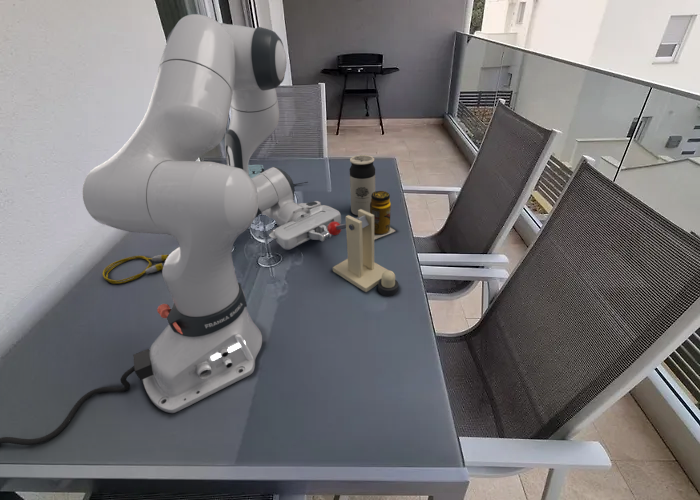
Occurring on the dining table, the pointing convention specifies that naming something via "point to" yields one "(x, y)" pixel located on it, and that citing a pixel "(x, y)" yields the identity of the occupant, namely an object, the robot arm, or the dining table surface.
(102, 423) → the dining table surface
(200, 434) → the dining table surface
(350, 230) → the switch bracket
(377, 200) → the condiment
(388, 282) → the pilot lamp
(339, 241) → the dining table surface
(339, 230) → the switch lever
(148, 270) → the extension cord
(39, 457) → the dining table surface
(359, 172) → the travel mug
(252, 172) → the neon sign
